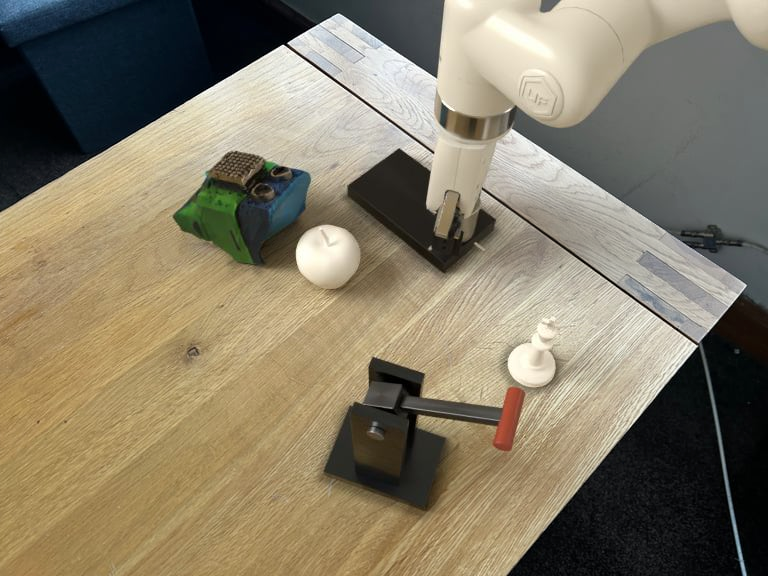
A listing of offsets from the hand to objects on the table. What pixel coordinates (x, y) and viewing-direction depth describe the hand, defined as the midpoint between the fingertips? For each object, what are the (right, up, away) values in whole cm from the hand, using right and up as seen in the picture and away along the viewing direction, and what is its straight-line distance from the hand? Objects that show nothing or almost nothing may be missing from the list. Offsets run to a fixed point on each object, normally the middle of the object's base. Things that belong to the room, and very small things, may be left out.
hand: (456, 222), depth 75 cm
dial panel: (-4, +2, +5) cm, 6 cm away
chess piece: (+7, -16, -6) cm, 18 cm away
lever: (-3, -17, -25) cm, 31 cm away
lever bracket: (-8, -24, -12) cm, 28 cm away
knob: (0, -1, +1) cm, 1 cm away
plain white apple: (-14, -6, 0) cm, 16 cm away
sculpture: (-25, 0, +4) cm, 25 cm away
